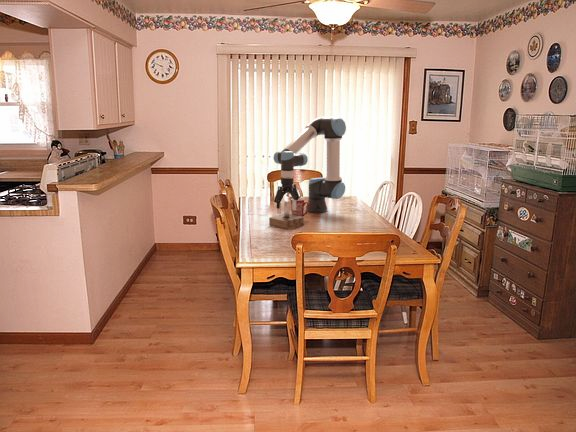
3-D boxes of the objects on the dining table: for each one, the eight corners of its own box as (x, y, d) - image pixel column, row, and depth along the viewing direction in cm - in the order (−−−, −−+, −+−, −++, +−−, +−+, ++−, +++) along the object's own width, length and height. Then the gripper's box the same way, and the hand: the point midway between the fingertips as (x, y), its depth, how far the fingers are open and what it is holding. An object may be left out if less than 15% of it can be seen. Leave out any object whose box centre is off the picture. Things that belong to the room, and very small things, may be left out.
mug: (288, 220, 303) (289, 199, 300) (292, 217, 312) (292, 197, 309) (308, 221, 300) (308, 201, 297) (310, 218, 309) (311, 198, 306)
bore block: (287, 221, 302) (287, 213, 301) (303, 225, 292) (303, 217, 291) (269, 225, 290) (269, 217, 289) (286, 229, 281) (286, 221, 280)
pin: (286, 222, 293) (286, 200, 290) (290, 223, 291) (290, 201, 288) (282, 223, 291) (282, 201, 288) (286, 224, 289) (286, 202, 286)
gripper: (296, 174, 296) (295, 207, 301) (268, 178, 278) (267, 214, 283) (305, 175, 291) (304, 209, 296) (277, 180, 273) (276, 216, 278)
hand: (286, 211), depth 289 cm, fingers open, 13 cm apart
